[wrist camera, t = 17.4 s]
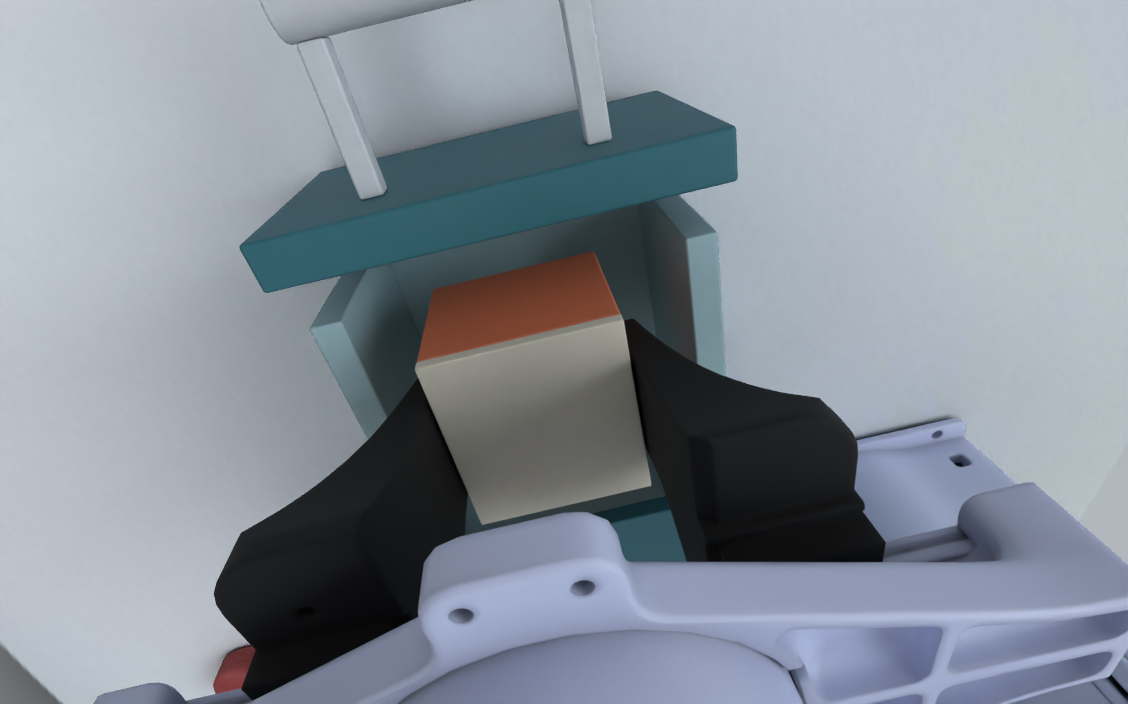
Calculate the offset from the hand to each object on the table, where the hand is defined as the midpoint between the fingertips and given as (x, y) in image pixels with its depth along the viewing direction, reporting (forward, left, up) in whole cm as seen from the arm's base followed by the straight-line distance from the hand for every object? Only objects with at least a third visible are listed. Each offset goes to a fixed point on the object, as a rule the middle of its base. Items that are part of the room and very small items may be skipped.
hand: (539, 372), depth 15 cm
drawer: (0, -1, -6) cm, 6 cm away
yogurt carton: (0, 0, -1) cm, 1 cm away
